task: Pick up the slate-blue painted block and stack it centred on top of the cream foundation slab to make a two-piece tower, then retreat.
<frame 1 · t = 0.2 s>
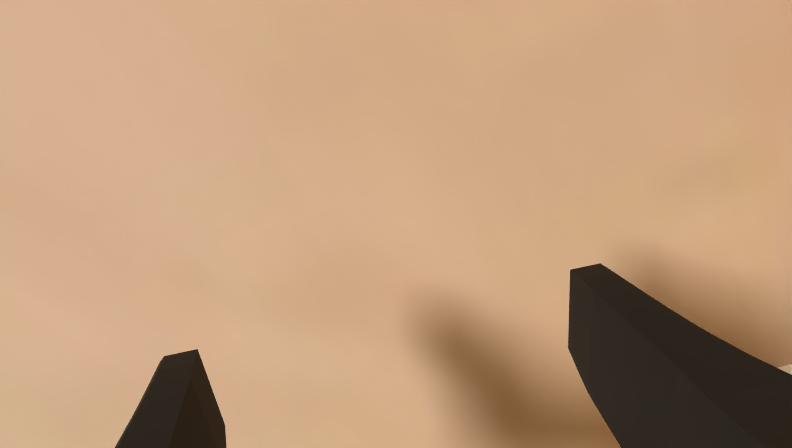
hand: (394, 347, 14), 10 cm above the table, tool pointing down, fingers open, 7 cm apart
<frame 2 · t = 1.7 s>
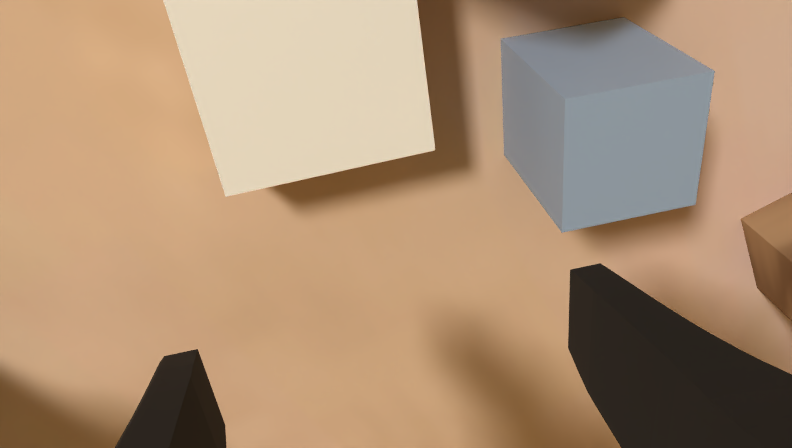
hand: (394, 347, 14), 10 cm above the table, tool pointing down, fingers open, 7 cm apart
blue block: (561, 88, 23), on the table
foundation slab: (300, 37, 21), on the table
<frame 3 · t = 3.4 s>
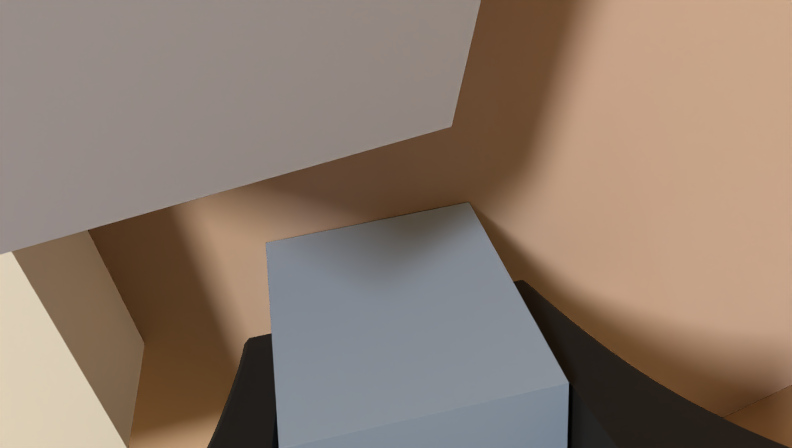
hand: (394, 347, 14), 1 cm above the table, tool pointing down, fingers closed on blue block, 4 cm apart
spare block: (760, 444, 20), on the table
blue block: (381, 302, 15), on the table, touching gripper
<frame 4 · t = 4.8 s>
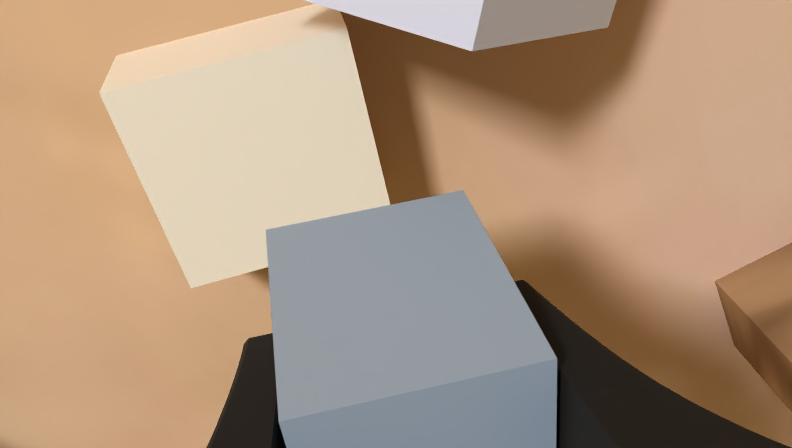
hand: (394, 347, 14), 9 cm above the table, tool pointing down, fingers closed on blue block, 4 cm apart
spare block: (770, 290, 28), on the table
blue block: (378, 288, 15), point 7 cm above the table, touching gripper
foundation slab: (260, 122, 21), on the table
when the fingers open (5 cm above the table, at t = 6.1 s): blue block stays where it is, point 3 cm above the table.
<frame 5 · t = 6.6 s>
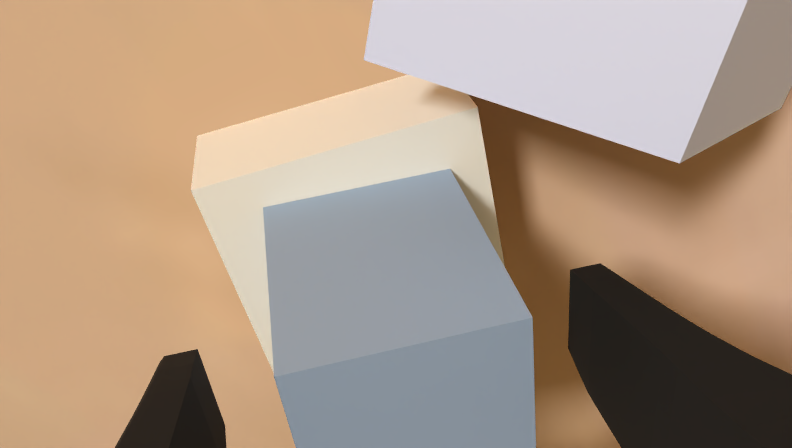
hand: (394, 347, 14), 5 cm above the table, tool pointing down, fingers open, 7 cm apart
blue block: (371, 264, 16), point 3 cm above the table
foundation slab: (352, 198, 18), on the table
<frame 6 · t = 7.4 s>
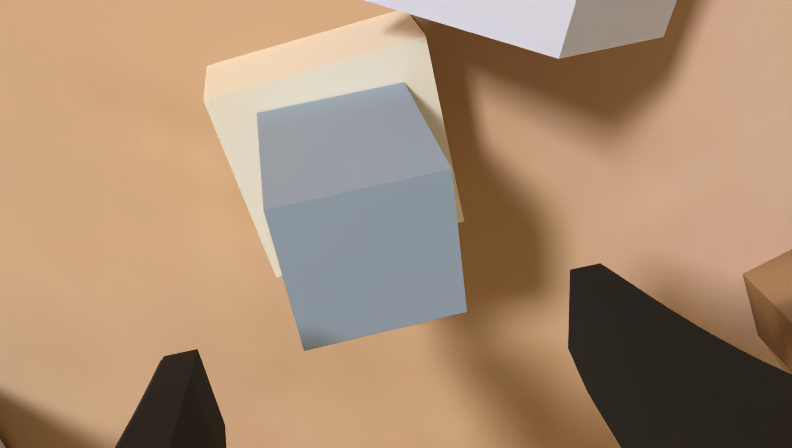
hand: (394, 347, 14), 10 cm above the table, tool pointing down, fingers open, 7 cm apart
blue block: (344, 162, 20), point 3 cm above the table, touching foundation slab
foundation slab: (333, 123, 23), on the table, touching blue block
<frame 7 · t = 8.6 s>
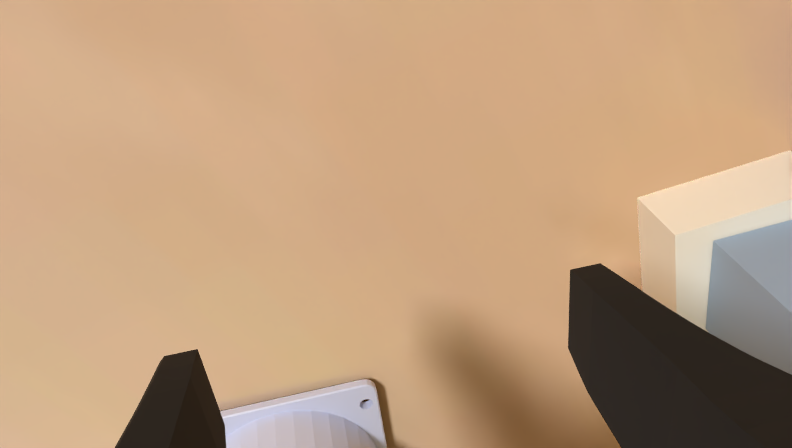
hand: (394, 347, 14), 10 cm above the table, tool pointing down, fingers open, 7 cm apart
blue block: (761, 272, 25), point 3 cm above the table
foundation slab: (708, 234, 28), on the table
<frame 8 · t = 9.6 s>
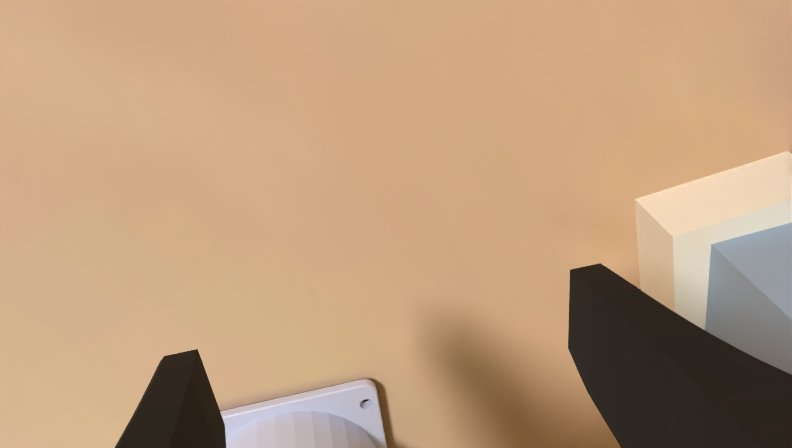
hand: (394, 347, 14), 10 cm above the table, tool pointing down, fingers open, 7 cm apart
blue block: (760, 275, 25), point 3 cm above the table
foundation slab: (706, 235, 28), on the table
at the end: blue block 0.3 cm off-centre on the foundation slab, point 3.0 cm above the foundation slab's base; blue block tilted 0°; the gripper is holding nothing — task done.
